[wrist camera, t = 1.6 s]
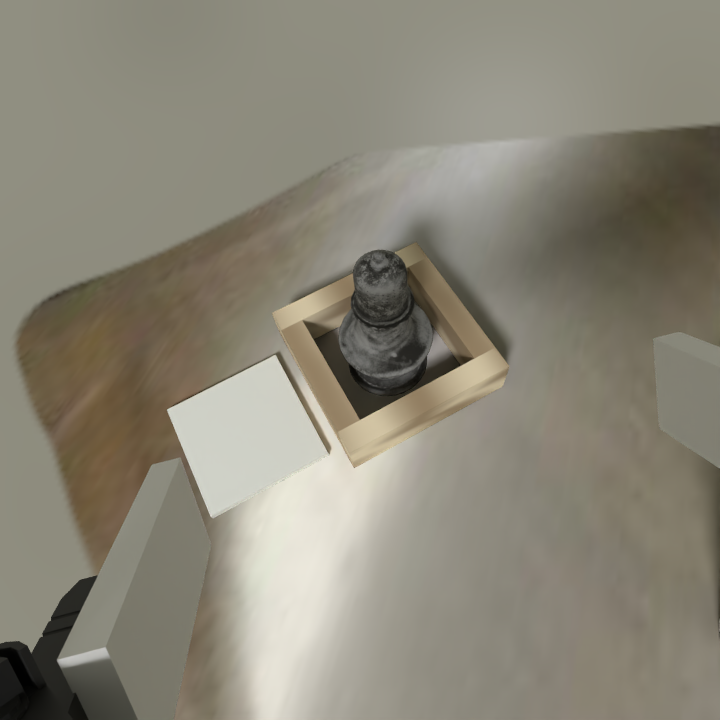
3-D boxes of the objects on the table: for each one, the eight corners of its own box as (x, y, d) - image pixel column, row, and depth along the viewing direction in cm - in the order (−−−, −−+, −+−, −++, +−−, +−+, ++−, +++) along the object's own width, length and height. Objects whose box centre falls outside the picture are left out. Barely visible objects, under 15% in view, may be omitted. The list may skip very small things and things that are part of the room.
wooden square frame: (415, 267, 43) (416, 242, 40) (502, 386, 38) (509, 366, 36) (280, 335, 41) (271, 313, 39) (354, 467, 37) (349, 453, 34)
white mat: (277, 358, 41) (275, 354, 40) (329, 455, 37) (328, 453, 37) (169, 412, 39) (166, 409, 39) (213, 518, 36) (210, 516, 36)
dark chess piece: (353, 317, 42) (333, 200, 31) (437, 328, 41) (445, 212, 30) (336, 392, 39) (307, 294, 28) (424, 406, 38) (428, 310, 27)
